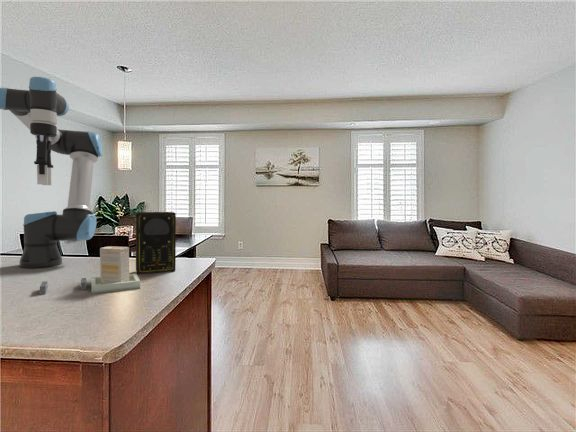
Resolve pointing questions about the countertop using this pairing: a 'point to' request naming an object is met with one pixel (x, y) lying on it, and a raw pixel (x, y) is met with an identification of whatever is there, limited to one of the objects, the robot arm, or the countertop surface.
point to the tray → (114, 284)
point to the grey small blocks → (45, 286)
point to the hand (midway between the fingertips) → (44, 185)
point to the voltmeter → (155, 242)
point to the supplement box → (114, 264)
